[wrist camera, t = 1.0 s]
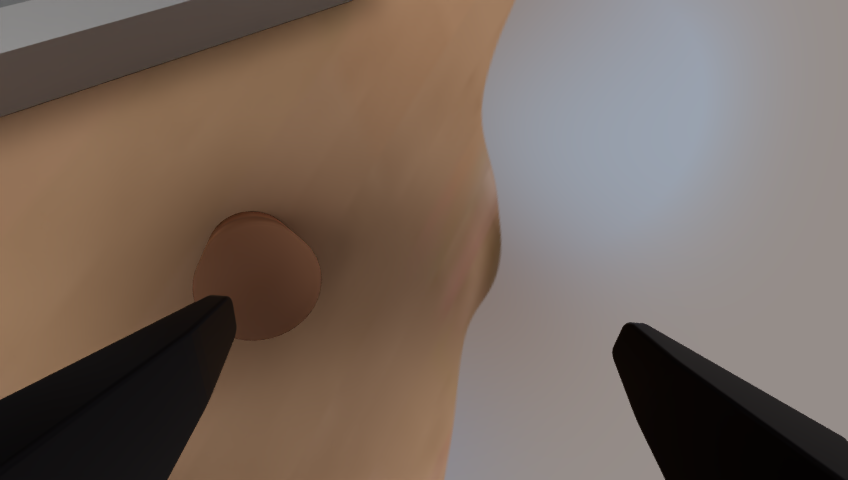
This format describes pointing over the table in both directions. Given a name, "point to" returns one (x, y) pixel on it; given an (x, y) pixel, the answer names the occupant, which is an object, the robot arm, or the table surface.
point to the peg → (259, 274)
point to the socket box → (117, 39)
